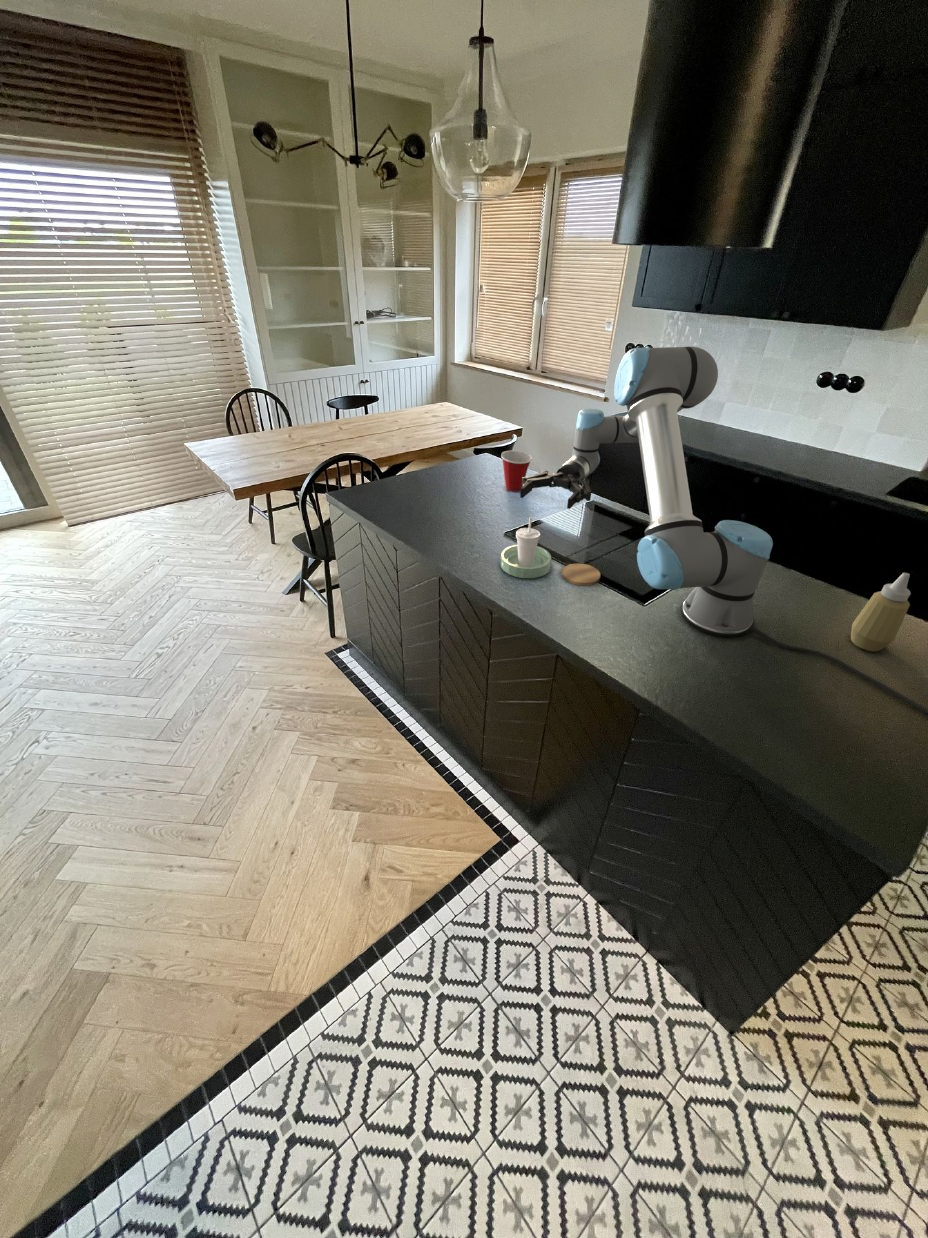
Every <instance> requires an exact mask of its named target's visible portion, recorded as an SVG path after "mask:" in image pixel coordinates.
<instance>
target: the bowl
mask: <svg viewBox="0 0 928 1238" xmlns="http://www.w3.org/2000/svg"><path fill="white" fill-rule="evenodd" d="M552 559H553V558H552V555H551V553H550V552H549V551H548V550H547V549H545V548H543V547H542V546H538V545H537V548H536V552H535V556H534V561H533V565H532V567H520V566H519V563H518V546H517V544H513V545H510V546H507V547H506V548H504V549H503V550H502V552H501V553H500V568H501V569H502V570H503V572H505V573H506V574H508V575H510V576H511V577H512V576H513V577H515V578H521V579H535V578H536V579H537V578H541V577H543V576H545V575H547V574H548V573H549V572H550V570H551V567H552Z"/></svg>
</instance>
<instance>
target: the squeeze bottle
mask: <svg viewBox="0 0 928 1238" xmlns="http://www.w3.org/2000/svg"><path fill="white" fill-rule="evenodd" d="M910 575H911V574H910V573H908V572H902V574H900V575H899V577H897V579H895V581H893V583H885V584H884V585H883V587H882V589H881V591H876V592H874V593H873V594H872V596H871V597H870V598H869V600H868V601H867V602H866V604H865V605H864V606H863V608H862V610H861V611H860V612H859V614H858V615H857V616H856V618H855V619H854V621H853V622H852V623H851V634H850V640H851V642H852V643H853V644H854V646H856V647H858V648H860V649H862V650H865V651H869V652H879V651H881V650H883V649H884V648H886V647H887V646H888V645H890V644H891V643H892V642H894V641H895V640H896V637H897V635H898V633H899V631H900V628H901V626H902V624H903V622H904V619H905V618H906V615H907V612H908V610H909V608H910V606H911V603H910V602H909V600H908V599H909V597H910V596H911V594H912V593H911V591H910V590H909V588H908V583H909V579H910Z"/></svg>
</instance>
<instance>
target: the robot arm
mask: <svg viewBox="0 0 928 1238" xmlns="http://www.w3.org/2000/svg"><path fill="white" fill-rule="evenodd" d="M718 379H719V369H718V364H717V362H716V360H715V358H714V357H713V356H712V354H711V353H709V352H708V351H707V350H705V349H704V348H700V347H698V346H668V347H667V346H666V347H665V346H664V347H663V346H662V347H650V346H649V345H647V346H645V347H635V348H631V349H629V350H628V351H627V352H626V353H625V354H624V356H623V357H622V358H621V361H620V363H619V365H618V367H617V372H616V375H615V380H614V388H613V390H614V391H613V395H614V400H615V402H616V404H617V405H619V406H621V407H625V406H626V410H627V413H626V415H616V416H605V413H604V411H603V410H601V409H597V408H584V409H581V410H580V411H579V412H578V414H577V417H576V422H575V430H574V438H573V446H572V454H571V457H570V458H569V459H568V460H567V461H565V462H564V463H563V464H562V465H561V466H560V467H559V468H558V469H557V471H556V472H553V473H552V474H551V473H549V470H548V469H547V470H543V471H542V472H537V473H534V474H530V475H526V477H523V479H522V488H521V490H520V492H519V493H520V494H519V498H521V499H524V498H525V497H526V496H527V495H528V494H530V493H531V492H532V491H533V489H537V488H544V487H549V488H562V489H563V490H568V491H569V492H570V493H572V494H571V496H570V497H568V499H567V506H566V509H568V510H570V509H572V507H573V506H574V505H576V504H579V503H581V501H583V500H585V501H587V502H590V501H591V499H592V493H593V492H592V489H591V486H590V479H589V478H588V476H589V475H591V474H592V473H594V472H595V471H596V469H597V468H598V466H599V464H600V462H601V456H600V452H599V448H600V445H601V444H622V443H632V444H636V443H638V445H639V452H640V459H641V464H642V472H643V479H644V480H643V481H644V485H645V493H646V499H647V500H646V501H647V508H648V515H649V520H650V523H649V524H648V526H647V527H646V528H645V530H644V537H642V538H641V539H640V540H639V542H638V545H637V552H636V561H637V566H638V569H639V572H640V574H641V576H642V579H643V580H644V581H645V582H646V583H647V584H648V586H649V587H651V588H653V589H655V590H670V591H671V590H672V591H676V590H679V589H688V588H689V589H691V588H693V589H692V591H691V592H690V593H689V595H688V596H687V597H686V598H685V600H684V601H683V604H682V606H681V616H682V617H683V619H684V620H685V622H687V624H689V625H690V627H692V628H694V629H696V630H698V631H700V632H702V633H705V634H707V635H711V636H715V637H719V638H737V637H741V636H744V635H746V634H747V633H748V632H749V631H751V632H753V633H755V634H756V635H759V636H761V637H762V638H764V639H765V640H767V641H769V642H770V643H772V644H774V645H776V646H779V647H782V648H785V649H788V650H793V651H797V652H802V653H803V652H804V653H809V654H813V655H816V656H819V657H822V658H825V659H827V660H829V661H831V662H833V663H835V664H837V665H838V666H839V665H840V667H843V668H844V669H847V670H848V671H850V672H852V673H853V674H855V675H857V676H859V677H861V678H863V679H864V680H866V681H868V682H870V683H872V684H874V685H875V686H877V687H879V688H880V689H882V690H884V691H886V692H888V693H890V694H891V695H893V696H894V697H896V698H898V699H900V700H902V701H904V702H905V703H907V704H909V705H910V706H912V707H914V708H916V709H917V710H919V711H921V712H923V713H924V714H926V715H928V708H927V707H925V706H923V705H921V704H920V703H918V702H916V701H914V700H913V699H910V698H909V697H907V696H905V695H903V694H902V693H900V692H898V691H897V690H895V689H893V688H891V687H890V686H887V685H886V684H884V683H882V682H881V681H879V680H876V679H875V678H873V677H871V676H869V675H867V674H866V673H864V672H862V671H860V670H858V669H856V668H854V667H853V666H851V665H849V664H848V663H845V662H844V661H842V660H840V659H838V658H836V657H834V656H832V655H829V654H827V653H825V652H822V651H819V650H815V649H812V648H807V647H801V646H796V645H792V644H791V645H790V644H788V643H784V642H781V641H778V640H776V639H775V638H773V637H771V636H770V635H768V634H766V633H764V632H763V631H761V630H759V629H757V628H755V627H753V626H752V624H753V622H754V595H755V592H756V591H757V588H758V585H759V583H760V580H761V578H762V576H763V573H764V571H765V568H766V566H767V564H768V562H769V559H770V558H771V557H770V556H771V552H772V549H773V545H774V542H773V538H772V536H771V535H770V534H768V532H766V531H764V530H763V529H761V528H759V527H758V526H756V525H753V524H750V523H747V522H744V521H740V520H731V519H723V520H720V521H719V522H718V523H717V524H716V525H715V526H714V531H708V532H707V531H705V532H704V528H703V522H702V519H700V518H699V517H696V516H695V515H694V514H693V509H692V508H693V507H692V501H691V494H690V488H689V481H688V475H687V467H686V463H685V462H686V461H685V455H684V448H683V442H682V436H681V428H680V422H679V416H678V413H679V412H681V411H682V410H685V409H688V410H689V409H692V408H694V407H696V406H698V405H700V404H701V403H703V402H704V401H705V400H707V399H708V398H709V397H710V395H711V394H712V393H713V391H715V390H714V389H715V387H716V385H717V383H718Z"/></svg>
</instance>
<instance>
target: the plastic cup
mask: <svg viewBox="0 0 928 1238" xmlns="http://www.w3.org/2000/svg"><path fill="white" fill-rule="evenodd" d="M500 458H501V460H502V465H503V475H504V483H505V484H504V485H505V489H506V490H507V491H510V492H519V491H520V492H521V488H522V479H523V477H526V476H527V473H528V468H529V466H530V464H531V462H532V461H533V456H532V455H531V454H530V453H527V452H525V451H521V450H515V449H514V450H505V451H502V452H501V455H500Z"/></svg>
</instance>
